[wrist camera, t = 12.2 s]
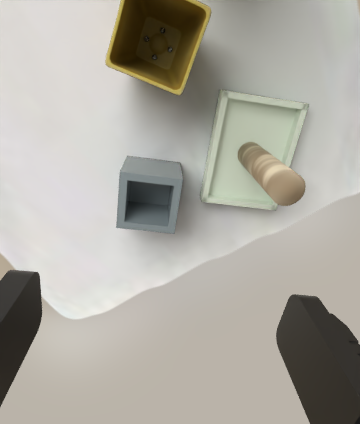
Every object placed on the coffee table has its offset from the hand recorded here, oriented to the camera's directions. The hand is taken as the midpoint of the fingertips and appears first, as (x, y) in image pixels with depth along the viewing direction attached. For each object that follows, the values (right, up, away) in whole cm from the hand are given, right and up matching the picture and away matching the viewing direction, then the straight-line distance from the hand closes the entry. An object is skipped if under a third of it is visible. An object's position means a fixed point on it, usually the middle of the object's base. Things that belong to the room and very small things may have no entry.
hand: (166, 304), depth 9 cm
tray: (+11, +12, +35) cm, 38 cm away
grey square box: (-4, +7, +36) cm, 37 cm away
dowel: (+11, +12, +34) cm, 37 cm away
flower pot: (-2, +25, +28) cm, 38 cm away
